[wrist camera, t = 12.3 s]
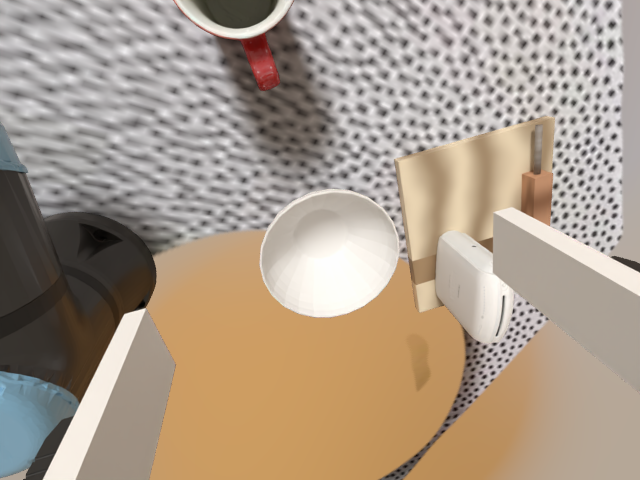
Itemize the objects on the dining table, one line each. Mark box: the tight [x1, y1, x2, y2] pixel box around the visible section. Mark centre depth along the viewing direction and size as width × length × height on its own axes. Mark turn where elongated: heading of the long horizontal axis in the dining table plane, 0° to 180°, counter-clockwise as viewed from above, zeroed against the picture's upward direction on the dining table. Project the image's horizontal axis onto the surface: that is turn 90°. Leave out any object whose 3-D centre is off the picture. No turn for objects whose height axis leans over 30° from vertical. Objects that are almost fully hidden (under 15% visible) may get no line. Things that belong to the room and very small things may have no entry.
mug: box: [173, 0, 294, 91], centre depth 30 cm, size 13×9×14 cm
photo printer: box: [435, 230, 514, 344], centre depth 45 cm, size 10×4×12 cm, turn 5°
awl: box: [521, 124, 553, 226], centre depth 46 cm, size 14×2×2 cm, turn 14°
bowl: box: [260, 189, 399, 318], centre depth 44 cm, size 16×16×7 cm
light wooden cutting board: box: [394, 116, 555, 313], centre depth 50 cm, size 20×23×2 cm
